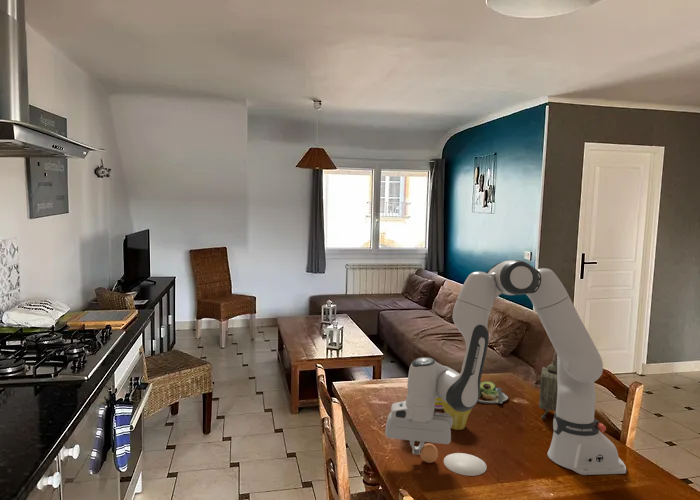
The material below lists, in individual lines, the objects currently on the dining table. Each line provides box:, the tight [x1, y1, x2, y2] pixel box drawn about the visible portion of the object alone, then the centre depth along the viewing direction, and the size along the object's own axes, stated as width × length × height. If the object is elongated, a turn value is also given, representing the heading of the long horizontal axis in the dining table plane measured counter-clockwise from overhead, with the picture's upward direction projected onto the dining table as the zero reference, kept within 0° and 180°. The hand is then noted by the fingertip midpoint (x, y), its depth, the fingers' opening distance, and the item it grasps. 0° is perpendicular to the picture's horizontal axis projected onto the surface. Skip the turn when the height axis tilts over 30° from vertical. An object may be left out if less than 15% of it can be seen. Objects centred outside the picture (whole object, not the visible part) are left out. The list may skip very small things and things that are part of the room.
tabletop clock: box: [538, 352, 558, 420], centre depth 186 cm, size 14×9×25 cm, turn 155°
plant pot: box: [442, 400, 472, 431], centre depth 175 cm, size 10×10×10 cm
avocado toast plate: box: [477, 380, 509, 405], centre depth 204 cm, size 19×18×5 cm
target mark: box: [443, 452, 488, 477], centre depth 148 cm, size 13×13×1 cm
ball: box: [420, 442, 439, 464], centre depth 149 cm, size 6×6×6 cm
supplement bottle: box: [434, 398, 444, 410], centre depth 192 cm, size 7×7×13 cm
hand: (416, 453), depth 149 cm, fingers closed
